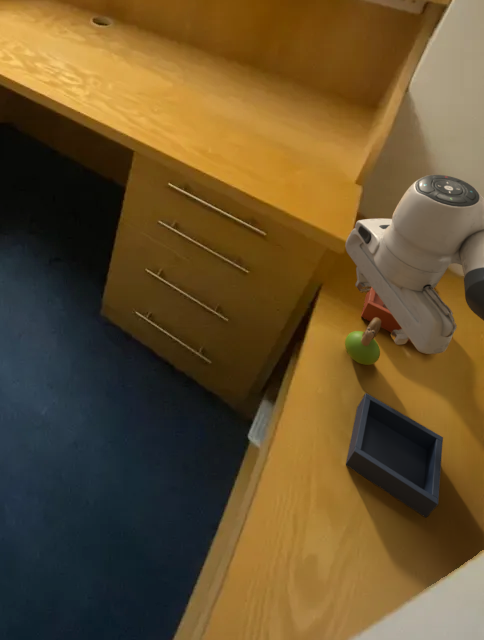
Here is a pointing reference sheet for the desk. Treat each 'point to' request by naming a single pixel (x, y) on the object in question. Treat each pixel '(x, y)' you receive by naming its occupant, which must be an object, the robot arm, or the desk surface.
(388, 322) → the terracotta bin
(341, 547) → the desk surface
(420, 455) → the slate bin
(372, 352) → the snail figurine
